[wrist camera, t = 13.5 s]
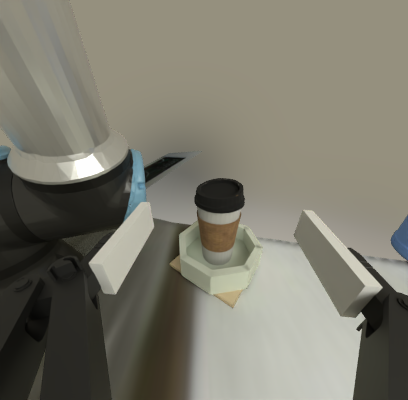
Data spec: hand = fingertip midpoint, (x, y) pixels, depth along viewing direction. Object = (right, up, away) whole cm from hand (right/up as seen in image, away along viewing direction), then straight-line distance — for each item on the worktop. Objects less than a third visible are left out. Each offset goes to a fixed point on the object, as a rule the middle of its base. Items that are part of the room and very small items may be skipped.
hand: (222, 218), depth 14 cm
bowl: (+1, -11, +20) cm, 22 cm away
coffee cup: (+1, -10, +19) cm, 21 cm away
